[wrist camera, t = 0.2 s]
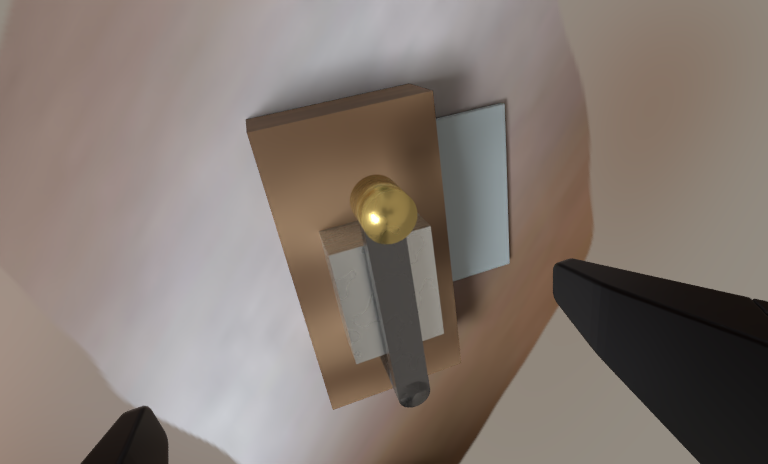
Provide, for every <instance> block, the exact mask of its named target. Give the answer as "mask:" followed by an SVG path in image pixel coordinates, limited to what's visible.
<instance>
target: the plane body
mask: <svg viewBox="0 0 768 464" xmlns="http://www.w3.org/2000/svg"><path fill="white" fill-rule="evenodd" d="M246 128H247V135H248V138H249V141H250V144H251V147H252V151H253V154H254V157H255V160H256V164H257V167H258V170H259V173H260V176H261V180H262V183H263V186H264V189H265V193H266V196H267V199H268V202H269V205H270V209H271V212H272V215H273V218H274V222H275V225H276V228H277V231H278V234H279V238H280V241H281V244H282V247H283V251H284V254H285V257H286V260H287V263H288V267H289V270H290V273H291V276H292V280H293V283H294V286H295V289H296V292H297V296H298V299H299V302H300V305H301V309H302V312H303V315H304V318H305V321H306V325H307V328H308V331H309V334H310V338H311V341H312V344H313V347H314V350H315V354H316V357H317V360H318V363H319V366H320V370H321V373H322V376H323V379H324V383H325V386H326V389H327V392H328V395H329V399H330V402H331V405H332V408H333V410H334V409H337V408H340V407H342V406H345V405H348V404H351V403H353V402H356V401H359V400H362V399H364V398H367V397H370V396H372V395H375V394H378V393H381V392H383V391H386V390H389V389H392V388H393V386H392V384H391V382H390V379H389V377H388V375H387V372H386V370H385V368H384V366H383V363H382V361H381V359H380V356H379V357H376V358H373V359H370V360H367V361H364V362H361V363H359V364H356V362H355V359H354V356H353V353H352V350H351V348H350V345H349V342H348V339H347V336H346V334H345V330H344V327H343V323H342V319H341V315H340V311H339V307H338V304H337V300H336V296H335V292H334V288H333V284H332V280H331V277H330V273H329V269H328V265H327V261H326V257H325V254H324V250H323V246H322V242H321V238H320V234H319V231H322V230H325V229H329V228H332V227H336V226H339V225H343V224H347V223H350V222H354V221H357V218H356V217H355V215H354V214H353V212H352V210H351V207H350V195H351V192H352V190H353V188H354V186H355V185H356V184H357V183H358V182H359V181H360V180H361V179H363V178H365V177H367V176H370V175H376V174H378V175H384V176H387V177H388V178H390V179H391V180H392V181H394V182H395V183H396V184H397V185H398V186H399V187H400V188H401V189H402V190H403V191H404V192H405V193H406V194H407V195H408V196H409V197H410V198H411V199H412V200H413V201H414V203H415V205H416V207H417V213H418V214H419V215H420V216H421V217H422V218H423V219H424V220H425V221H426V222H427V223H428V224H429V225H430V226H431V233H432V241H433V249H434V257H435V265H436V273H437V281H438V289H439V297H440V305H441V313H442V321H443V330H444V334H442V335H439V336H436V337H433V338H430V339H428V340H425V341H423V347H424V354H425V360H426V367H427V373H428V375H430V374H433V373H435V372H438V371H441V370H444V369H446V368H449V367H452V366H455V365H457V364H460V363H461V356H460V346H459V337H458V327H457V318H456V308H455V298H454V289H453V279H452V270H451V260H450V250H449V241H448V231H447V222H446V212H445V202H444V193H443V183H442V174H441V164H440V154H439V145H438V135H437V126H436V116H435V106H434V97H433V91H432V90H429V89H426V88H422V87H419V86H415V85H412V84H405V85H400V86H396V87H391V88H387V89H382V90H378V91H373V92H369V93H364V94H360V95H355V96H351V97H346V98H341V99H337V100H332V101H328V102H323V103H319V104H314V105H310V106H305V107H301V108H296V109H292V110H287V111H283V112H278V113H273V114H269V115H264V116H260V117H255V118H251V119H246Z"/></svg>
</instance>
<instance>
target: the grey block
mask: <svg viewBox="0 0 768 464" xmlns="http://www.w3.org/2000/svg"><path fill="white" fill-rule="evenodd" d="M319 234H320V238H321V242H322V246H323V250H324V254H325V257H326V261H327V265H328V269H329V273H330V277H331V280H332V284H333V288H334V292H335V296H336V300H337V304H338V307H339V311H340V315H341V319H342V323H343V327H344V330H345V334H346V336H347V339H348V342H349V345H350V348H351V350H352V353H353V356H354V359H355V362H356V364H359V363H361V362H364V361H367V360H370V359H373V358H376V357H379V356H382V355H384V354H386V349H385V344H384V340H383V335H382V330H381V325H380V321H379V316H378V311H377V306H376V301H375V297H374V292H373V287H372V282H371V278H370V273H369V268H368V263H367V259H366V254H365V249H364V244H363V239H362V235H361V230H360V225H359V221H358V220H357V221H354V222H350V223H347V224H343V225H339V226H336V227H332V228H329V229H325V230H322V231H319ZM406 238H407V244H408V251H409V257H410V263H411V270H412V276H413V283H414V289H415V296H416V302H417V309H418V315H419V321H420V328H421V334H422V341H425V340H428V339H430V338H433V337H436V336H439V335H442V334H444V330H443V321H442V313H441V305H440V297H439V289H438V281H437V273H436V265H435V257H434V249H433V241H432V233H431V226H430V225H429V224H428V223H427V222H426V221H425V220H424V219H423V218H422V217H421V216H420V215H419V214H418V213H417V221H416V224H415V227H414V228H413V230H412V231H411V233H410V234H409V235H408V236H407V237H406Z"/></svg>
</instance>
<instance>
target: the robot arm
mask: <svg viewBox="0 0 768 464" xmlns="http://www.w3.org/2000/svg"><path fill="white" fill-rule="evenodd" d="M553 295H554V298H555V300H556V302H557V304H558V305H559V306H560V307H561V309H562V310H563V311H564V313H565V314H566V315H567V317H568V318H569V319H570V320H571V322H572V323H573V324H574V326H575V327H576V328H577V329H578V331H579V332H580V333H581V335H582V336H583V337H584V339H585V340H586V341H587V342H588V343H589V345H590V346H591V347H592V349H593V350H594V351H595V352H596V353H597V355H598V356H599V357H600V358H601V359H602V360H603V361H604V362H605V363H606V364H607V365H608V366H609V368H610V369H611V370H612V371H613V372H614V373H615V374H616V375H617V376H618V377H619V378H620V379H621V380H622V381H623V382H624V383H625V385H627V387H628V388H629V389H630V390H631V391H632V392H633V393H634V394H635V395H636V396H637V397H638V398H639V399H640V400H641V401H642V402H643V403H644V405H645V406H647V408H648V409H649V410H650V411H651V412H652V413H653V414H654V415H655V416H656V417H657V418H658V419H659V420H660V421H661V423H662V424H663V425H664V426H665V427H666V428H667V429H668V430H669V431H670V432H671V433H672V434H673V435H674V436H675V437H676V438H677V439H678V441H679V442H680V443H681V444H682V445H683V446H684V447H685V448H686V449H687V450H688V451H689V452H690V453H691V454H692V455H693V456H694V457H695V458H696V460H697V461H698V462H699V463H700V464H768V302H767V301H763V300H758V299H753V300H752V299H750V298H749V297H745V296H740V295H735V294H731V293H726V292H722V291H717V290H713V289H708V288H704V287H699V286H695V285H690V284H686V283H681V282H676V281H672V280H668V279H663V278H658V277H653V276H649V275H645V274H640V273H636V272H631V271H627V270H622V269H618V268H613V267H609V266H604V265H599V264H595V263H590V262H586V261H582V260H577V259H567V260H564V261H561V262H558V263H556V264H555V265H554V268H553ZM81 464H168V439H167V435H166V433H165V431H164V429H163V428H162V426H161V425H160V423H159V421H158V420H157V418H156V416H155V415H154V413H153V411H152V410H151V409H150V408H149V407H148V406H141V407H138V408H136V409H133V410H130V411H127V412H125V413H123V414H122V415H121V416H120V417H119V419H118V420H117V421H116V422H115V423H114V425H113V426H112V427H111V428H110V429H109V430H108V432H107V433H106V434H105V435H104V436H103V438H102V439H101V440H100V441H99V442H98V444H97V445H96V446H95V447H94V448H93V449H92V451H91V452H90V453H89V454H88V456H87V457H86V458H85V459H84V460H83V461H82V463H81Z"/></svg>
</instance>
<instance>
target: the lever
mask: <svg viewBox="0 0 768 464" xmlns="http://www.w3.org/2000/svg"><path fill="white" fill-rule="evenodd" d="M350 207H351V210H352V212H353V214H354V215H355V217H356V218H357V220H358V221H359V225H360V230H361V235H362V239H363V244H364V249H365V254H366V259H367V263H368V268H369V273H370V278H371V282H372V287H373V292H374V297H375V301H376V306H377V311H378V316H379V321H380V325H381V330H382V335H383V340H384V344H385V349H386V354H384V355H382V356H380V359H381V361H382V363H383V366H384V368H385V370H386V372H387V375H388V377H389V379H390V382H391V384H392V386H393V388H394V391H395V393H396V395H397V397H398V400H399V402H400V404H401V405H402V406H404V407H415V406H418V405H420V404H422V403H423V402H424V401H425V400H426V399H427V398H428V396H429V394H430V386H429V379H428V373H427V367H426V360H425V354H424V347H423V341H422V334H421V328H420V321H419V315H418V309H417V302H416V296H415V289H414V283H413V276H412V270H411V263H410V257H409V251H408V244H407V238H406V237H407V236H408V235H409V234H410V233H411V231H412V230H413V228H414V227H415V224H416V221H417V207H416V205H415V203H414V201H413V200H412V199H411V198H410V197H409V196H408V195H407V194H406V193H405V192H404V191H403V190H402V189H401V188H400V187H399V186H398V185H397V184H396V183H395V182H394V181H392V180H391V179H390V178H388V177H387V176H384V175H378V174H376V175H370V176H367V177H365V178H363V179H361V180H360V181H359V182H358V183H357V184H356V185H355V186H354V188H353V190H352V192H351V195H350Z"/></svg>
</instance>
